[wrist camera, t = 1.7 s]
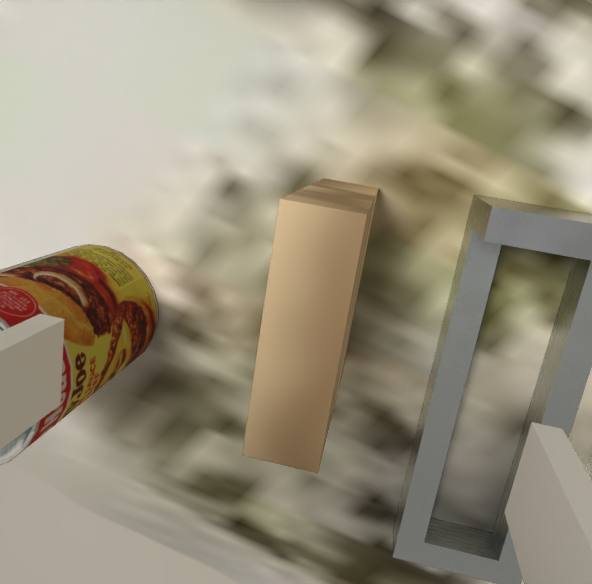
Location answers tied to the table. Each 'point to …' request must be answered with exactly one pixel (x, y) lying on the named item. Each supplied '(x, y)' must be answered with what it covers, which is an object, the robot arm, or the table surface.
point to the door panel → (307, 320)
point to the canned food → (81, 320)
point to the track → (454, 370)
